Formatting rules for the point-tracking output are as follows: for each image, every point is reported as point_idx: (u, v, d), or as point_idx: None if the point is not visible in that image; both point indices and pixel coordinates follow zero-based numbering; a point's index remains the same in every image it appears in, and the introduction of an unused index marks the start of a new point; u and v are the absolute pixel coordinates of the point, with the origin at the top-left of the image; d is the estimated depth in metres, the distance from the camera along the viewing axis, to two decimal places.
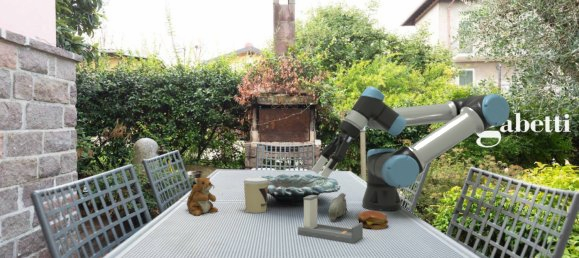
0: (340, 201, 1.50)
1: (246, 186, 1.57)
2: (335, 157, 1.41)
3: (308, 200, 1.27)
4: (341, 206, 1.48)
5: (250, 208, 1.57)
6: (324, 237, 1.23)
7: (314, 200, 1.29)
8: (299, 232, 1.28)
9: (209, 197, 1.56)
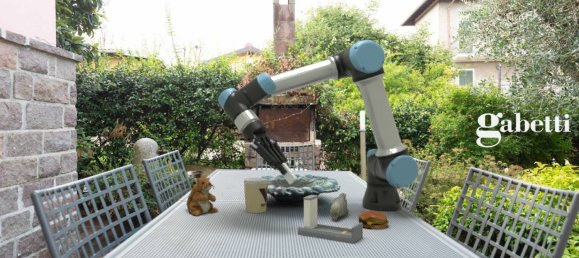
0: (341, 201, 1.50)
1: (246, 186, 1.57)
2: None
3: (308, 200, 1.27)
4: (342, 206, 1.49)
5: (250, 208, 1.57)
6: (324, 237, 1.23)
7: (314, 200, 1.29)
8: (299, 232, 1.28)
9: (209, 197, 1.56)
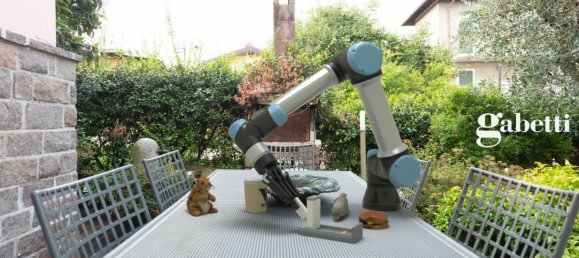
0: (343, 201, 1.50)
1: (246, 186, 1.57)
2: None
3: (311, 200, 1.27)
4: (344, 206, 1.49)
5: (250, 208, 1.57)
6: (324, 237, 1.23)
7: (317, 200, 1.29)
8: (299, 232, 1.28)
9: (209, 197, 1.56)
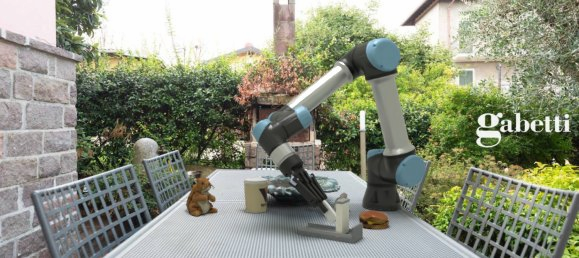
0: None
1: (246, 186, 1.57)
2: (312, 205, 1.26)
3: (340, 204, 1.22)
4: None
5: (250, 208, 1.57)
6: (324, 237, 1.23)
7: (346, 204, 1.24)
8: (299, 232, 1.28)
9: (209, 197, 1.55)
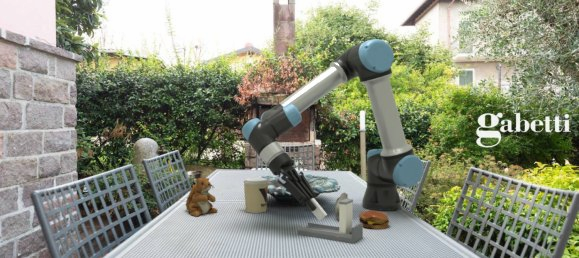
0: None
1: (246, 186, 1.57)
2: None
3: (344, 204, 1.21)
4: None
5: (250, 208, 1.57)
6: (324, 237, 1.23)
7: (350, 204, 1.24)
8: (299, 232, 1.28)
9: (208, 198, 1.55)
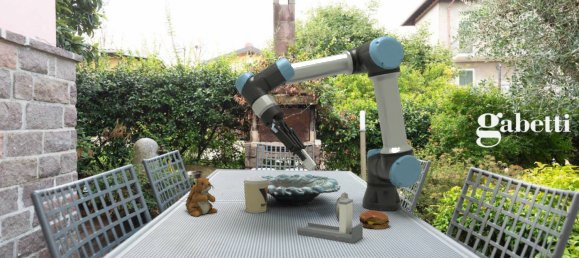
0: None
1: (246, 186, 1.57)
2: (291, 152, 1.30)
3: (344, 204, 1.21)
4: None
5: (250, 208, 1.57)
6: (324, 237, 1.23)
7: (350, 204, 1.24)
8: (299, 232, 1.28)
9: (208, 198, 1.55)
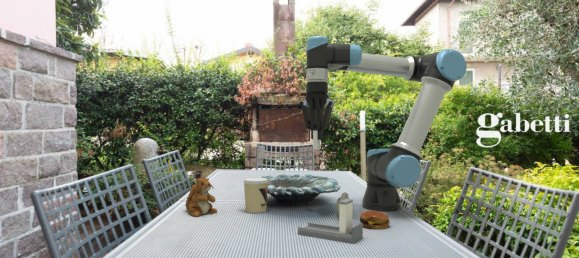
0: None
1: (246, 186, 1.57)
2: (323, 128, 1.45)
3: (344, 204, 1.21)
4: None
5: (250, 208, 1.57)
6: (324, 237, 1.23)
7: (350, 204, 1.24)
8: (299, 232, 1.28)
9: (208, 198, 1.55)
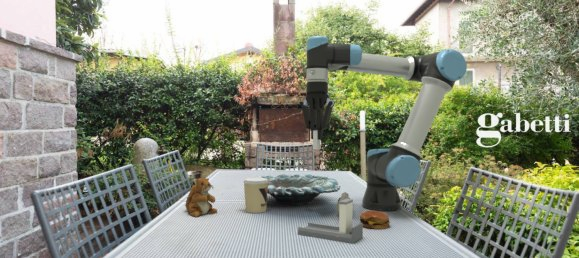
0: None
1: (246, 186, 1.57)
2: (323, 128, 1.45)
3: (344, 204, 1.21)
4: None
5: (250, 208, 1.57)
6: (324, 237, 1.23)
7: (350, 204, 1.24)
8: (299, 232, 1.28)
9: (208, 198, 1.54)
